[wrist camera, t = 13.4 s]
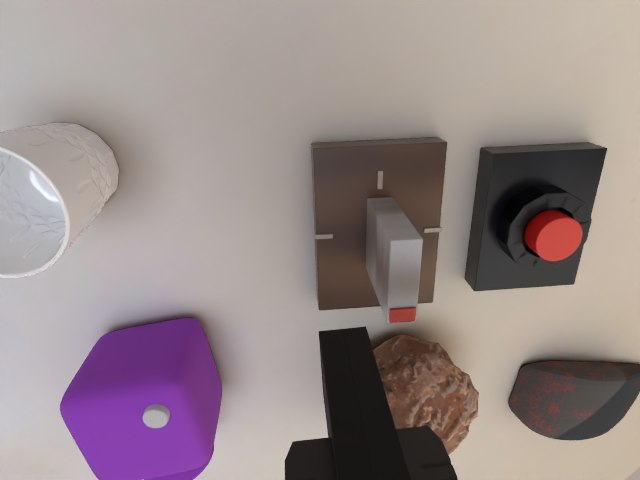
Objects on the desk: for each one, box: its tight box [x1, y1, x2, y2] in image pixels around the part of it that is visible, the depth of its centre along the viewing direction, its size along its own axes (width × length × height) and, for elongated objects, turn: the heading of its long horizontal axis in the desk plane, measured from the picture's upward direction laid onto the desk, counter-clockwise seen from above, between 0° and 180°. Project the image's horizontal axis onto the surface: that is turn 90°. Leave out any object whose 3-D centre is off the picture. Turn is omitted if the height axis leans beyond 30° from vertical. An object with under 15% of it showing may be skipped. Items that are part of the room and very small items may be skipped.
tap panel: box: [311, 137, 447, 310], centre depth 35 cm, size 14×10×2 cm
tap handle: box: [366, 197, 423, 323], centre depth 31 cm, size 6×2×8 cm, turn 1°
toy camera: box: [60, 318, 222, 480], centre depth 36 cm, size 11×14×10 cm
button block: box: [465, 142, 607, 291], centre depth 35 cm, size 12×9×4 cm
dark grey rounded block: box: [509, 361, 640, 440], centre depth 44 cm, size 8×14×4 cm, turn 84°
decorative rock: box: [373, 334, 479, 454], centre depth 38 cm, size 13×11×10 cm
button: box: [524, 210, 583, 261], centre depth 33 cm, size 4×4×2 cm
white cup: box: [0, 122, 119, 278], centre depth 28 cm, size 8×8×10 cm
